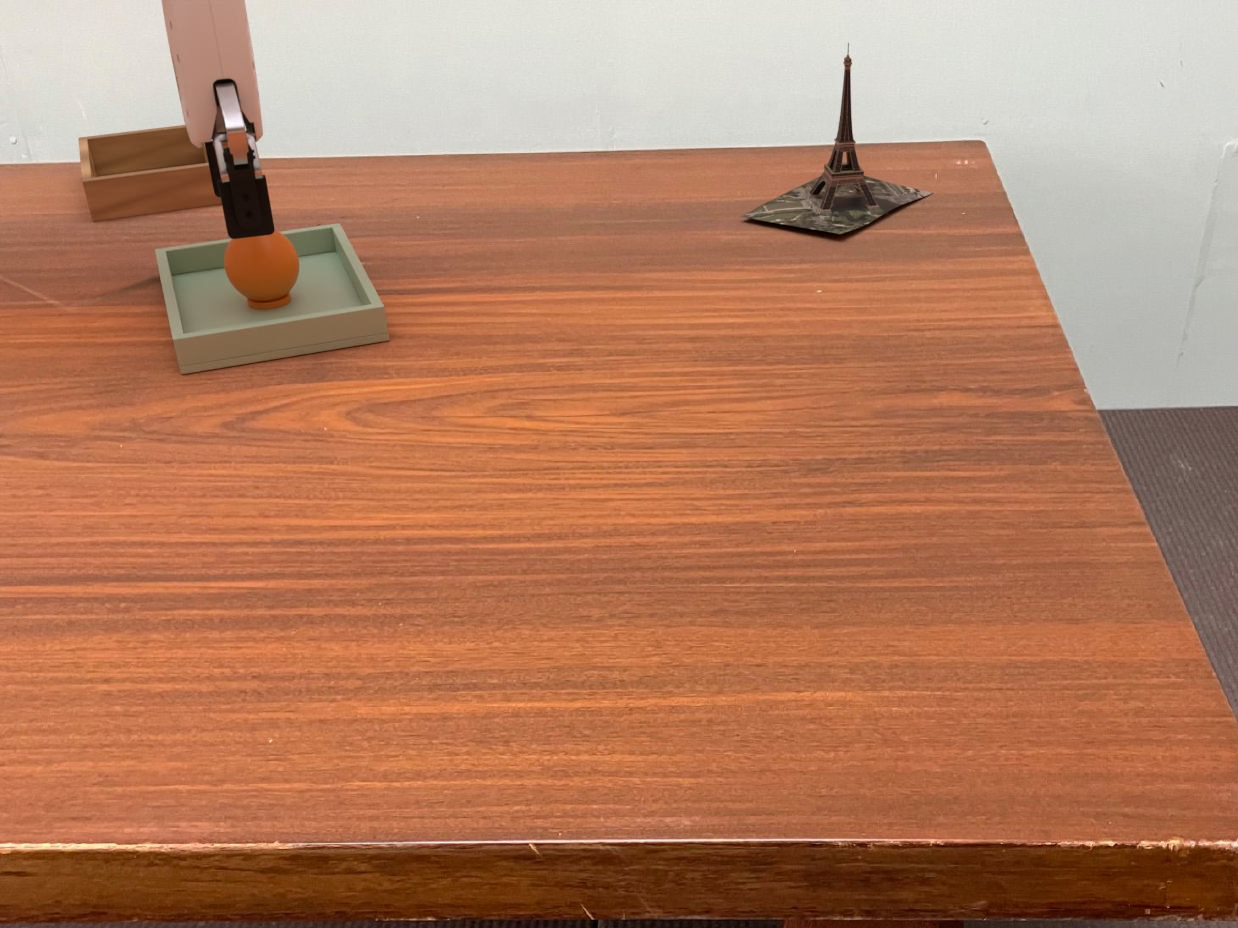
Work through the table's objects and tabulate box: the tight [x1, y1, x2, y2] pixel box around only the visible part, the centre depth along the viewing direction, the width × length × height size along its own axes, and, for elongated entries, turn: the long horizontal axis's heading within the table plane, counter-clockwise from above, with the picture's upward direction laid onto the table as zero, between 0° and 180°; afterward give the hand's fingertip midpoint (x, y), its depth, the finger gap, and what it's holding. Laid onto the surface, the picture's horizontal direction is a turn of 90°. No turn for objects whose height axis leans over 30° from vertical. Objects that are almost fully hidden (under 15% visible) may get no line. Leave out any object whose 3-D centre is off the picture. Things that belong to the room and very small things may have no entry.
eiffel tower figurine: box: [740, 42, 933, 235], centre depth 122 cm, size 15×10×13 cm
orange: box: [224, 229, 299, 309], centre depth 109 cm, size 5×5×6 cm
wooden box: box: [77, 124, 222, 223], centre depth 133 cm, size 15×12×4 cm
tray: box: [154, 222, 390, 375], centre depth 110 cm, size 20×15×3 cm
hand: (244, 214), depth 106 cm, fingers open, 9 cm apart
